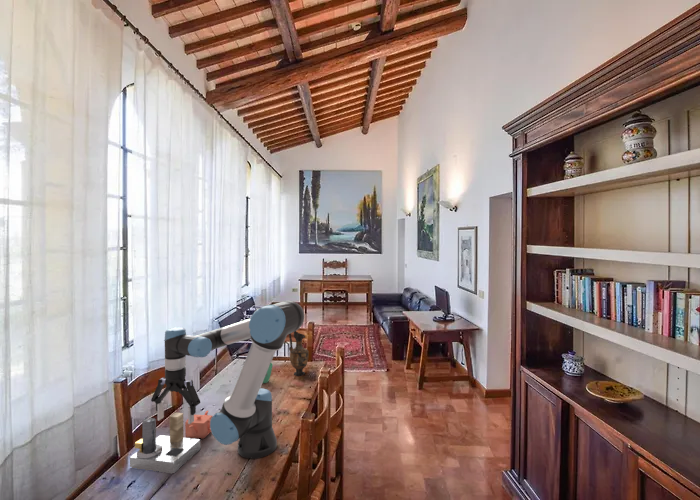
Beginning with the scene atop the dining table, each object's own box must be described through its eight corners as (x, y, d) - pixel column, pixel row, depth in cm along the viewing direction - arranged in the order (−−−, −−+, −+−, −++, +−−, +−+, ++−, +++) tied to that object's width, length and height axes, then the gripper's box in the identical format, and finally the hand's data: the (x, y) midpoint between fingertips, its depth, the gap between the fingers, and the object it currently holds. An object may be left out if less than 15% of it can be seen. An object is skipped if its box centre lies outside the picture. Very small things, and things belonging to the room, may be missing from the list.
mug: (273, 378, 226) (273, 361, 226) (271, 384, 216) (271, 367, 216) (249, 379, 225) (248, 362, 225) (245, 385, 215) (245, 368, 215)
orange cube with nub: (220, 427, 166) (220, 408, 166) (203, 445, 151) (202, 425, 151) (196, 425, 168) (195, 407, 168) (176, 443, 153) (175, 423, 153)
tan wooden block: (183, 437, 149) (183, 413, 149) (177, 442, 146) (177, 417, 146) (175, 437, 150) (175, 412, 150) (169, 441, 147) (169, 416, 147)
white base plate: (200, 449, 148) (200, 439, 148) (173, 473, 133) (173, 462, 133) (160, 444, 152) (160, 435, 152) (129, 468, 136) (129, 457, 136)
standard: (167, 447, 142) (166, 416, 142) (151, 460, 134) (150, 427, 134) (146, 445, 144) (145, 414, 144) (129, 457, 136) (128, 424, 136)
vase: (307, 377, 228) (306, 328, 227) (287, 377, 228) (286, 328, 227) (309, 370, 239) (309, 323, 239) (290, 370, 240) (289, 324, 239)
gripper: (209, 366, 149) (209, 419, 149) (154, 362, 154) (154, 413, 154) (198, 373, 141) (198, 428, 142) (140, 368, 146) (141, 421, 147)
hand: (175, 420), depth 148 cm, fingers open, 13 cm apart
